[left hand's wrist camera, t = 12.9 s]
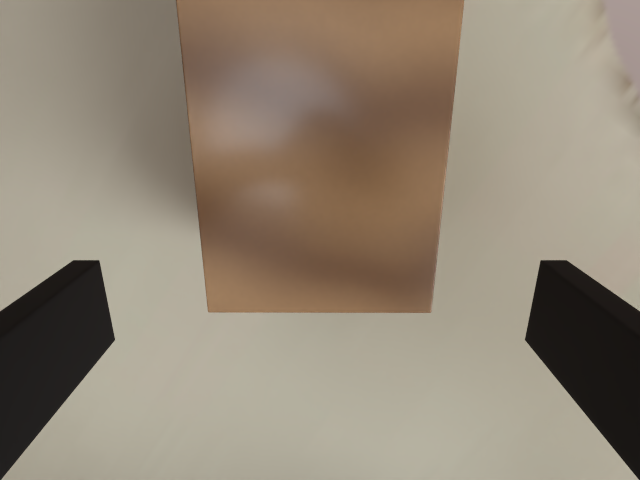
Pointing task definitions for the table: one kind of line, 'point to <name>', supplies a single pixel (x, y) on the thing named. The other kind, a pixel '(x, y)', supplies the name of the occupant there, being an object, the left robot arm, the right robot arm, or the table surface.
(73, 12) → the table surface
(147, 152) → the table surface
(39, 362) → the left robot arm
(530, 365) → the table surface
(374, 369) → the table surface
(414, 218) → the cabinet
